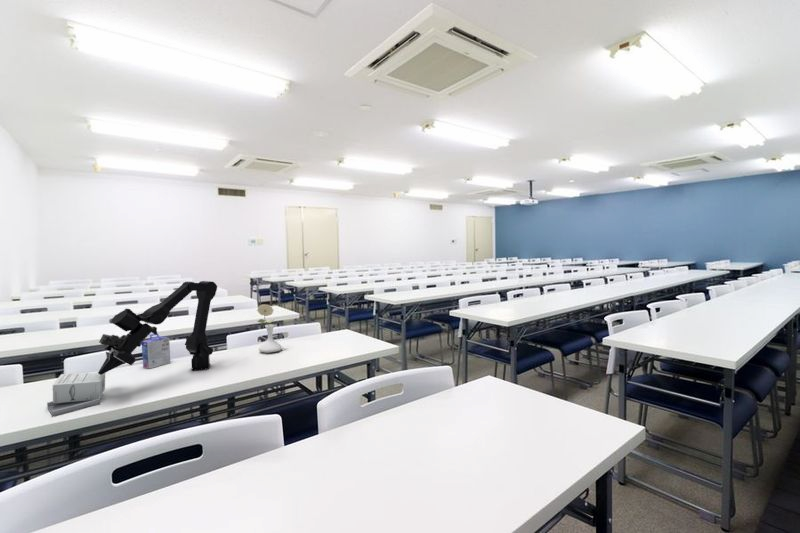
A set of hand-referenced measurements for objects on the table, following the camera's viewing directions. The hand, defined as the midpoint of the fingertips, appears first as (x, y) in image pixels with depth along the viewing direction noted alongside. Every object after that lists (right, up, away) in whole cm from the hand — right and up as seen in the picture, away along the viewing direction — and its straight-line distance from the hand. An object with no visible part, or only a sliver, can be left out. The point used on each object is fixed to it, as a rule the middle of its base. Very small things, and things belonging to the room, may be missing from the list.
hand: (99, 373), depth 127 cm
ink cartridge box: (-5, -7, +37) cm, 38 cm away
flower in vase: (+39, -6, +58) cm, 71 cm away
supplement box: (0, -5, +1) cm, 5 cm away
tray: (-4, -9, -5) cm, 11 cm away
